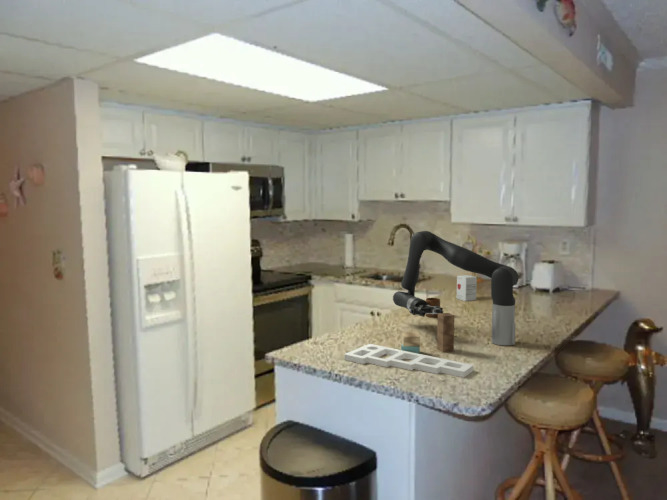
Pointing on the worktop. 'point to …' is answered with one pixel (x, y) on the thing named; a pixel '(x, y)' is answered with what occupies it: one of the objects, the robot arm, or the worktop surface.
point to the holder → (418, 362)
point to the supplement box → (466, 287)
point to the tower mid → (410, 339)
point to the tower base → (411, 348)
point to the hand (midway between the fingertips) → (433, 314)
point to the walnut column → (445, 332)
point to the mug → (433, 303)
